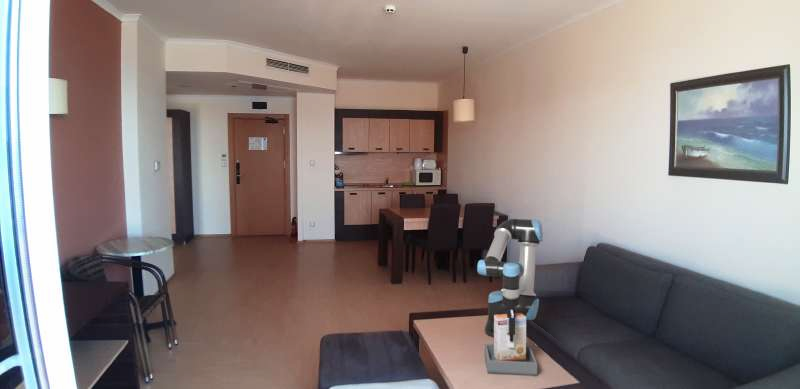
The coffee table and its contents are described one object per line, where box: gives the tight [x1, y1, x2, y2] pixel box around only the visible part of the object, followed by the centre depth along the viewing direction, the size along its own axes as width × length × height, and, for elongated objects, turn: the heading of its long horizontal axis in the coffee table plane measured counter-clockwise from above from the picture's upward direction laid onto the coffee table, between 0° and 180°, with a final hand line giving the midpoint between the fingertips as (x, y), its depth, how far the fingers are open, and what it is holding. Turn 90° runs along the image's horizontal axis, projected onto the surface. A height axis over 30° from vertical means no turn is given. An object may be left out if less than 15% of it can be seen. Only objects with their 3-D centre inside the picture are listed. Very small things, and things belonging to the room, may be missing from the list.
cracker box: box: [493, 313, 527, 361], centre depth 209 cm, size 14×6×21 cm, turn 98°
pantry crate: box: [484, 343, 538, 377], centre depth 210 cm, size 18×22×6 cm
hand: (509, 343), depth 209 cm, fingers closed on cracker box, 7 cm apart
